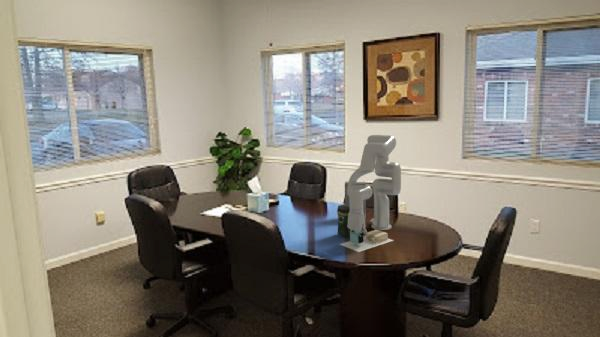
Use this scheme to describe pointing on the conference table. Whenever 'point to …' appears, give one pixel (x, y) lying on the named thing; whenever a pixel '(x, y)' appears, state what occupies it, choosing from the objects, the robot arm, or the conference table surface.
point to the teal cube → (355, 237)
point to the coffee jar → (343, 220)
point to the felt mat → (363, 245)
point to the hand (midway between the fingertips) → (357, 240)
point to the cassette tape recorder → (347, 198)
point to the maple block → (376, 236)
